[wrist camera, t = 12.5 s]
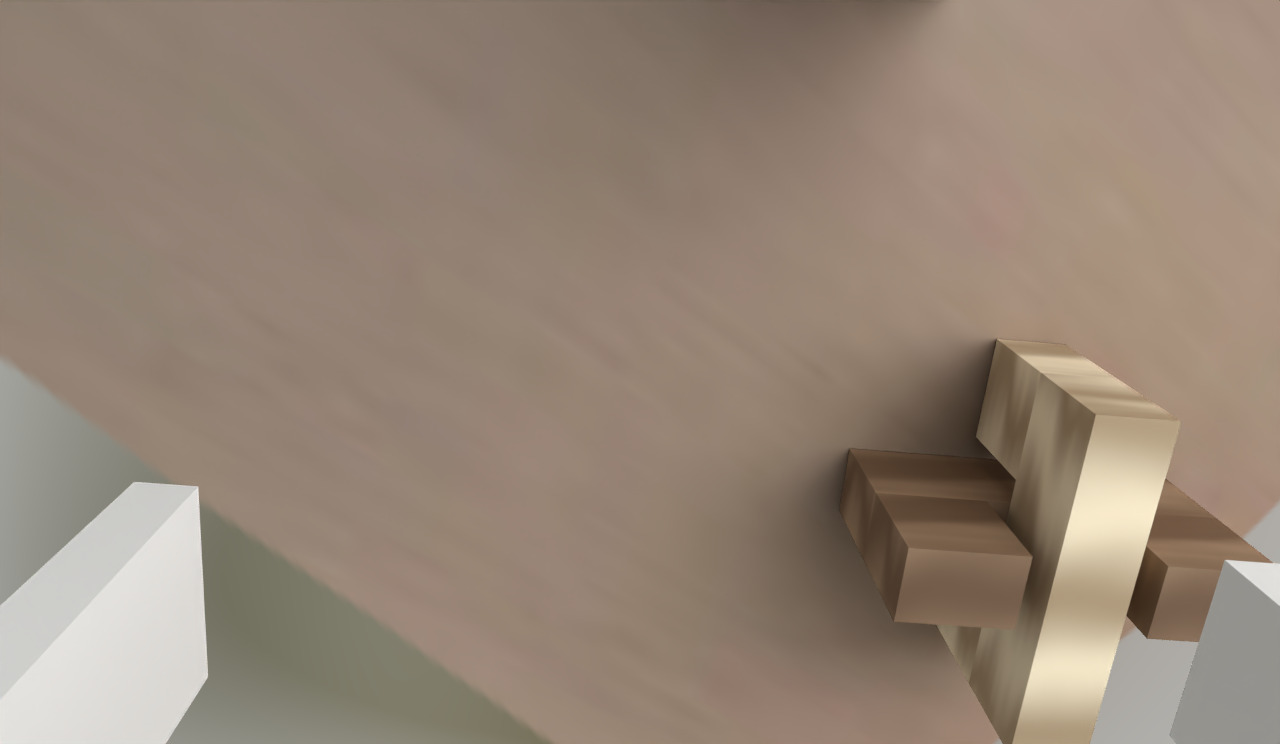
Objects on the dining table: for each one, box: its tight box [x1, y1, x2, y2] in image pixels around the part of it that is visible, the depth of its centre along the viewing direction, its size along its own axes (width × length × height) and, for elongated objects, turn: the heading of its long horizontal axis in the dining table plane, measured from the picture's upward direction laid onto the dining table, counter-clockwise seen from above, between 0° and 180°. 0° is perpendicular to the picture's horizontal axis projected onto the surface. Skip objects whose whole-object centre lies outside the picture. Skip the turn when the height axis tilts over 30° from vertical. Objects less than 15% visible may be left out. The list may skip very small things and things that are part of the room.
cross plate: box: [937, 339, 1181, 744], centre depth 40 cm, size 14×3×9 cm, turn 175°
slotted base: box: [839, 449, 1273, 642], centre depth 40 cm, size 3×14×9 cm, turn 85°
